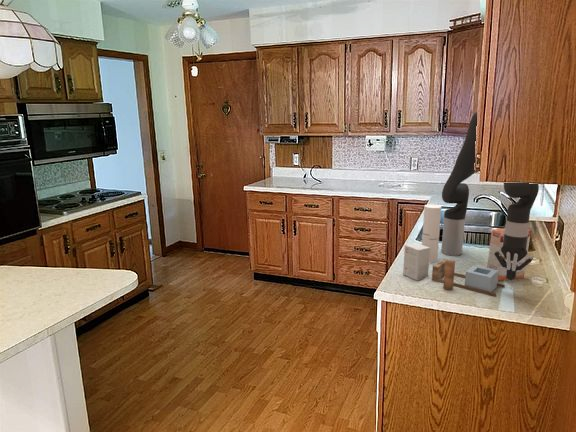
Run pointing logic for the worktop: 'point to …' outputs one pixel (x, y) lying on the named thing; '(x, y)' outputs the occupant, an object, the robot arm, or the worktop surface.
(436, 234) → the cylindrical container
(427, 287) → the worktop surface
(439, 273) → the track
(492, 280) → the grey square collar
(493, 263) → the cracker box
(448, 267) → the dowel
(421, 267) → the small box
